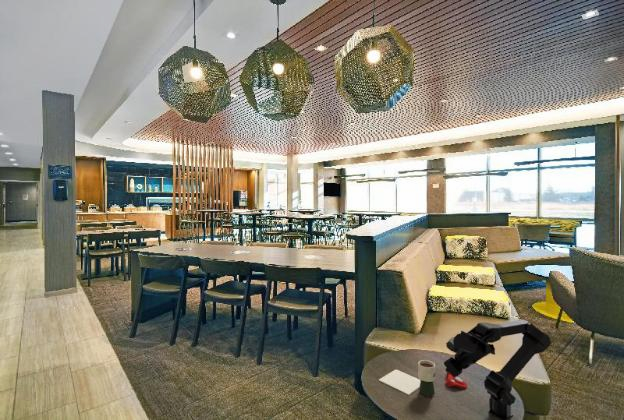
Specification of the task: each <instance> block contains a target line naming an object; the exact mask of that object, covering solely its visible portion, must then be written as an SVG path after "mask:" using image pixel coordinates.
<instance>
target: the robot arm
mask: <svg viewBox="0 0 624 420" xmlns="http://www.w3.org/2000/svg"><path fill="white" fill-rule="evenodd" d="M518 334H522V335H523V336H522V338H521V339H522V340H521V341H522V344H521V345H520V347H519V348H518V349H517V350H516V352H515V353H514V354H513V355H512V356H511V357H510V359H508V361H507V362H506V363H505V364H504V365H503V367H502V368H501V369H500V370H499V371H495V370H493V369H492V370H491V371H489V373H488V374H487V376H485V380H484V382H483V383H484V385H483V386H484V389H485V390H486V392H487V394H488V395H490V398H489V399H488V403H489V404H488V405H489V406H488V413H489V414H491V415H493V416H495V417H497V418H499V419H500V420H508V419H510V418H512V416H514V414H513V412H511V411H512V409H511V408H512V405H513V404H515V401H516V397H515V396H514V395H513V394H512V393H511V392H512V389H513V381H514V380H515V379H516V378H517V376H518V375H519V374H520V373H521V371H523V369H524V368H525V366H526V365H527V364H528V363H529V362H530V361H531V360H532V359H533V358H534V356H535V355H537V354H540V353H544V352H545V351H546V350H547V349H548V348H550V347H551V344H552V342H551V339H550V338H551V337H550V336H549V335H548V334H546V333H544V332H543V331H542V330H540V329H539V328H537V327H536V326H535V325H534V324H533V323H532V322H530V321H528V320H525V319H518V320H514V321H513V320H512V321H507V322H500V323H492V322H478V323H477V324H476V325H475V326H474V327H473V328H471V329H470V330H469V331H467V332H466V331H464V330H461V331H460V333H457V334H455V336H454V337H451V338H449V339H448V340H447V342H446V343H445V344H446V349H448V350H449V351H450V352H453V353H454V357H453V356H451V357H449V358H447V359H446V360H445V361H444V362H443V365H444V367H445V372H446V373H447V372H450V373H451V375H452V376H453V377H454V378H455V377H457V376H458V377H460V376H459V375H461V374H462V373H463V370H466V369H468V368H469V367H470V366H472V365H474V364H476V363H477V362H479V361H480V360H481V359H482V360H483V358H485V357H487V356H488V355H490V354H491V355H494V356H495V355H496V347H495V346H494V344H493V343H496V342H498V341H500V340H501V338H503V337H508V336H513V335H518Z"/></svg>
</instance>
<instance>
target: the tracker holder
mask: <svg viewBox="0 0 624 420" xmlns="http://www.w3.org/2000/svg"><path fill="white" fill-rule="evenodd" d="M445 378H446V379H445V383H444V385H446V386H447V387H448V388H450V387H457V388H460V389H467V387H468V384H467V382H466V381H465V380H463V379H462V378H461V376H457V377H455V378H454V377H453V376H452V375H451V373H450V372H446V377H445Z"/></svg>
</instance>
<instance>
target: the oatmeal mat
mask: <svg viewBox="0 0 624 420" xmlns="http://www.w3.org/2000/svg"><path fill="white" fill-rule="evenodd" d="M420 380H421V379H419V378H417V377H415V376H412V375H410V374H407V372H403V371H401V370H399V369H394V370H393V371H391V372H389V373H387V374H385V375H384V376H383V377H381V378H379V379H378V381H379V382H381V383H383V384H385V385H387V386H389V387H390V388H391V387H392V388H394V390H395V389H396V391H400V392H401V393H403V394H405V395H408V396H410V395H411V394H413V393H414V392H416V391H417V390H418V389H419V388H420Z"/></svg>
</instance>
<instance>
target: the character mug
mask: <svg viewBox="0 0 624 420" xmlns="http://www.w3.org/2000/svg"><path fill="white" fill-rule="evenodd" d="M417 363H418V364H417V371H418V372H417V373H418V374H417V376H418V379H419V380H420V388H418V389H419V393H420V394H421V395H423V396H428V397H429V396H430V397H433V396H434V395H435V394H436V393H435V386H434V381H435V380H436V364H435V362H433V361H431V360H426V359H423V360H419V361H418V362H417Z"/></svg>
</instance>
